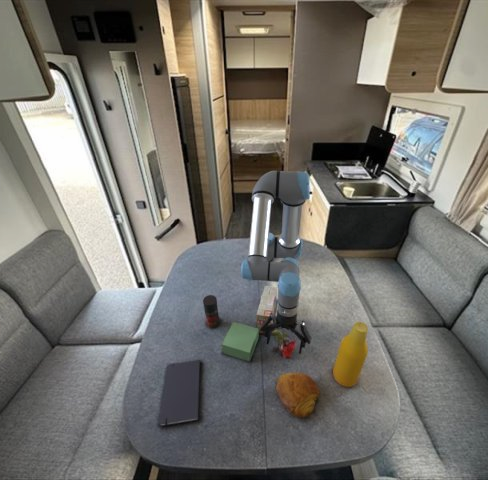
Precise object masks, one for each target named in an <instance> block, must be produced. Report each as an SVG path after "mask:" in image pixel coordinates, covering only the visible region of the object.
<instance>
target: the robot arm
mask: <svg viewBox="0 0 488 480" xmlns="http://www.w3.org/2000/svg"><path fill="white" fill-rule="evenodd" d="M310 187H311V186H310V173H308V172H307V171H300V170H299V171H288V170H271V171H268V172H266V173H264V174H263V175H262V176H261V177H260V178H259V179H258V180H257V182H255V184H254V187H253V189H252V193H251V201H252V202H253V204H252V205H253V206H252V213H251V224H250V233H249V242H248V243H249V245H248V253H247V259H243V260H242V262H241V265H240V276H241V278H242V279H243V280H249V281H250V280H251V281H262V282H276V283H278V284H277V303H276V306H277V307H276V315H275V314H274V315H273V313H270V315H269V317H268V318H267V320H266V321H265V322H264V323H263V324H262V326H261V328H260V330H261V331H264V332H265V334H264V337H265V338H266V345H269V344H270V341H271V332H273V331H275V330H277V329H279V328H280V329H283V330H284V329H285V330H288V331H290V332H291V333H293V334H294V335H295V336H296V338H297V339H298V340H300V343H299V350H298V354H300V355H301V354H302V350H303V349H305V348H306V344H308V345H310V344H311V341H312V337H311V335H310V332H309V330H308V328H307V327H306V321H304V320H301V321H298V310H299V299H300V294H301V293H300V292H301V289H302V285H301V281H302V280H301V278H300V268H299V263H298V261H297V259H300V257H301V255H302V249H303V238H301V237H300V235H299V231H300V230H299V229H300V222H301V215H302V214H301V213H302V206H304V204H305V203H306V201H307V200H310V199H311V196H310V195H311V193H310V192H311V191H310ZM275 199H280V203H281V204H282V221H281V233H280V234H279V235H278V236H275V235H274V233H272V232H270V226H271V224H270V223H271V212H272V204H273V203H274V202H275ZM275 259H280V261H275ZM271 321H273V323H272V324H270V325H269V323H270V322H271ZM270 331H271V332H270Z"/></svg>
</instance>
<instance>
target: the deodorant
mask: <svg viewBox="0 0 488 480" xmlns="http://www.w3.org/2000/svg"><path fill="white" fill-rule="evenodd" d="M202 305H203V310H204V315H205V316H204V317H205V322H206V326H207V328H210V329H214V328H217V327H218V326H219V325H220V317H219V315H220V314H219V308H218V300H217V296H215V295H212V294H208V295H206V296H205V297H203V299H202Z"/></svg>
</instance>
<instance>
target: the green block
mask: <svg viewBox="0 0 488 480" xmlns="http://www.w3.org/2000/svg"><path fill="white" fill-rule="evenodd" d="M259 338H260V333H259V329H257V327H254V326H250V325H248V324H247V325H246V324H243V323H239V322H235V321H233V322H232V323H231V326H230V327H229V329H228V331H227V333H226V335H225V337H224V339H223V341H222V343H221V349H222V354H224V355H228V356H230V357H234V358H237V359H240V360H244V361H247V362H251V360H252V357H253V354H254V352H255V349H256V346H257V344H258V340H259Z"/></svg>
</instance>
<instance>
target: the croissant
mask: <svg viewBox="0 0 488 480" xmlns="http://www.w3.org/2000/svg"><path fill="white" fill-rule="evenodd" d="M275 390H276V392H277V395H278V399H279V400H280V402H281V404H282V405H283V406H284V408H285V410H287V412H288V413H290V414H291V415H292V416H293V417H296V418H299V419H301V418H306V417H308V416H310V415H311V414H312V413H313V411H314V410H315V406H316V402H317V399H318V398H319V394H320V389H319V387H318V386H317V384H316V382H315V381H314V379H313V378H312V377H311V376H310V375H308V374H306V373H302V372H286V373H283V374H280V375H279V377H278V379H277V382H276V387H275Z"/></svg>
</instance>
